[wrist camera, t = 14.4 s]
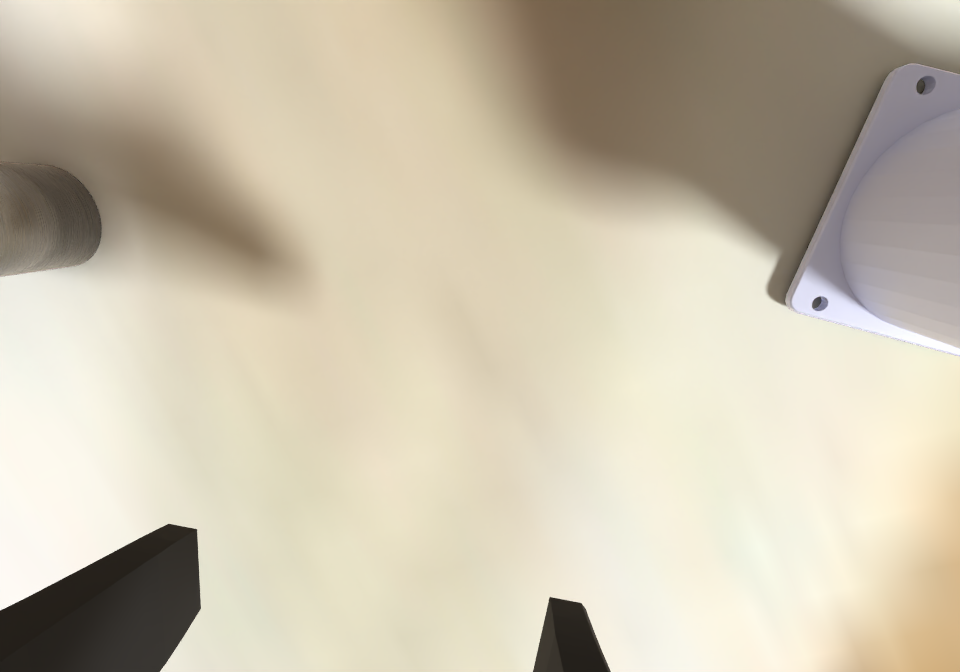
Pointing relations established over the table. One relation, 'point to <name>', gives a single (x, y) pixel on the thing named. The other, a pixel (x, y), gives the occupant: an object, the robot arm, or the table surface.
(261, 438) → the table surface
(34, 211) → the grey spice tin
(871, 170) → the robot arm
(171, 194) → the table surface
